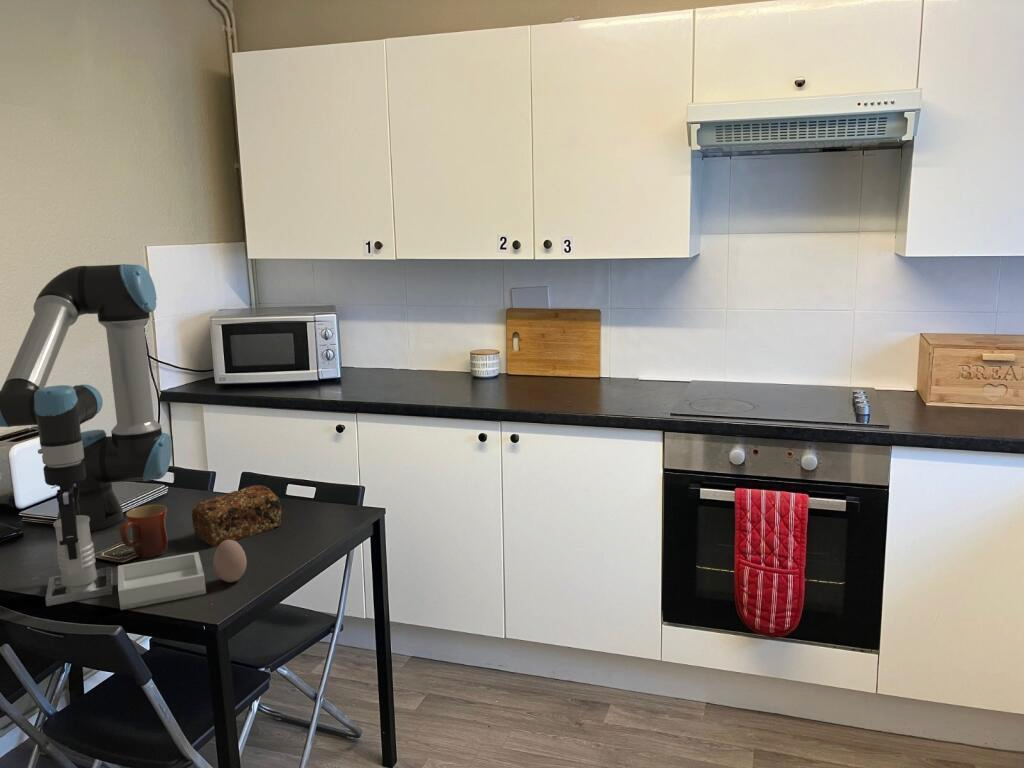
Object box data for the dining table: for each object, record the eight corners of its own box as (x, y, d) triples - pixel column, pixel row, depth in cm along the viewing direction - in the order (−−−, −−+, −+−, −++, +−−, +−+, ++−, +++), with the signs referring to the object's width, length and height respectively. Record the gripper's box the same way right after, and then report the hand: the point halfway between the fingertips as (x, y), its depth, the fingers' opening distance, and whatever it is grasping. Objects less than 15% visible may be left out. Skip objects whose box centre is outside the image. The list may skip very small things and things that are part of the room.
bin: (120, 583, 182) (117, 565, 182) (200, 569, 189) (198, 551, 188) (120, 610, 170) (118, 591, 169) (206, 593, 176) (204, 575, 175)
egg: (254, 576, 184) (250, 536, 182) (235, 589, 178) (231, 547, 176) (228, 573, 186) (224, 533, 184) (208, 585, 180) (204, 544, 178)
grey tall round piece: (100, 579, 185) (92, 513, 182) (96, 592, 178) (87, 523, 175) (65, 585, 182) (55, 517, 180) (59, 598, 176) (50, 528, 173)
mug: (150, 544, 204) (145, 503, 202) (180, 548, 201) (175, 506, 199) (110, 563, 193) (105, 520, 191) (140, 568, 190) (135, 524, 188)
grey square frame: (50, 583, 183) (49, 577, 183) (112, 573, 188) (111, 566, 188) (46, 606, 173) (45, 599, 172) (112, 594, 177) (111, 587, 177)
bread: (263, 517, 221) (259, 480, 219) (284, 527, 213) (281, 489, 211) (192, 537, 208) (188, 498, 206) (212, 549, 200) (208, 508, 198)
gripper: (47, 450, 185) (59, 544, 189) (37, 481, 162) (52, 587, 166) (86, 446, 188) (97, 538, 192) (82, 475, 165) (95, 579, 169)
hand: (76, 561), depth 179 cm, fingers open, 13 cm apart
